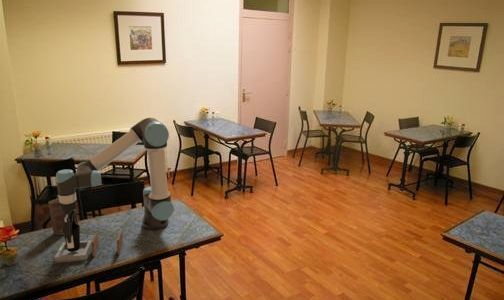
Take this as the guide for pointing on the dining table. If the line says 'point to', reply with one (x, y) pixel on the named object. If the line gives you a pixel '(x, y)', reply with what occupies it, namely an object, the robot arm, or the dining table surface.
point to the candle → (56, 216)
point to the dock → (78, 255)
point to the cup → (74, 238)
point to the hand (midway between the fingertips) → (73, 243)
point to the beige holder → (96, 243)
